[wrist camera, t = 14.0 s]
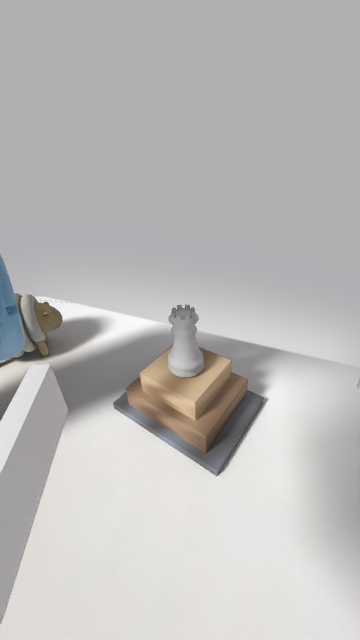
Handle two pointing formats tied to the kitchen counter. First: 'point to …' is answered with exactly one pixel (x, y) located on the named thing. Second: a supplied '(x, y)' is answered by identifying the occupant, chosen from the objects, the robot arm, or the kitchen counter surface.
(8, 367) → the kitchen counter surface
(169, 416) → the plinth
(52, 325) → the toy sheep
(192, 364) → the rook chess piece
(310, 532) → the kitchen counter surface
